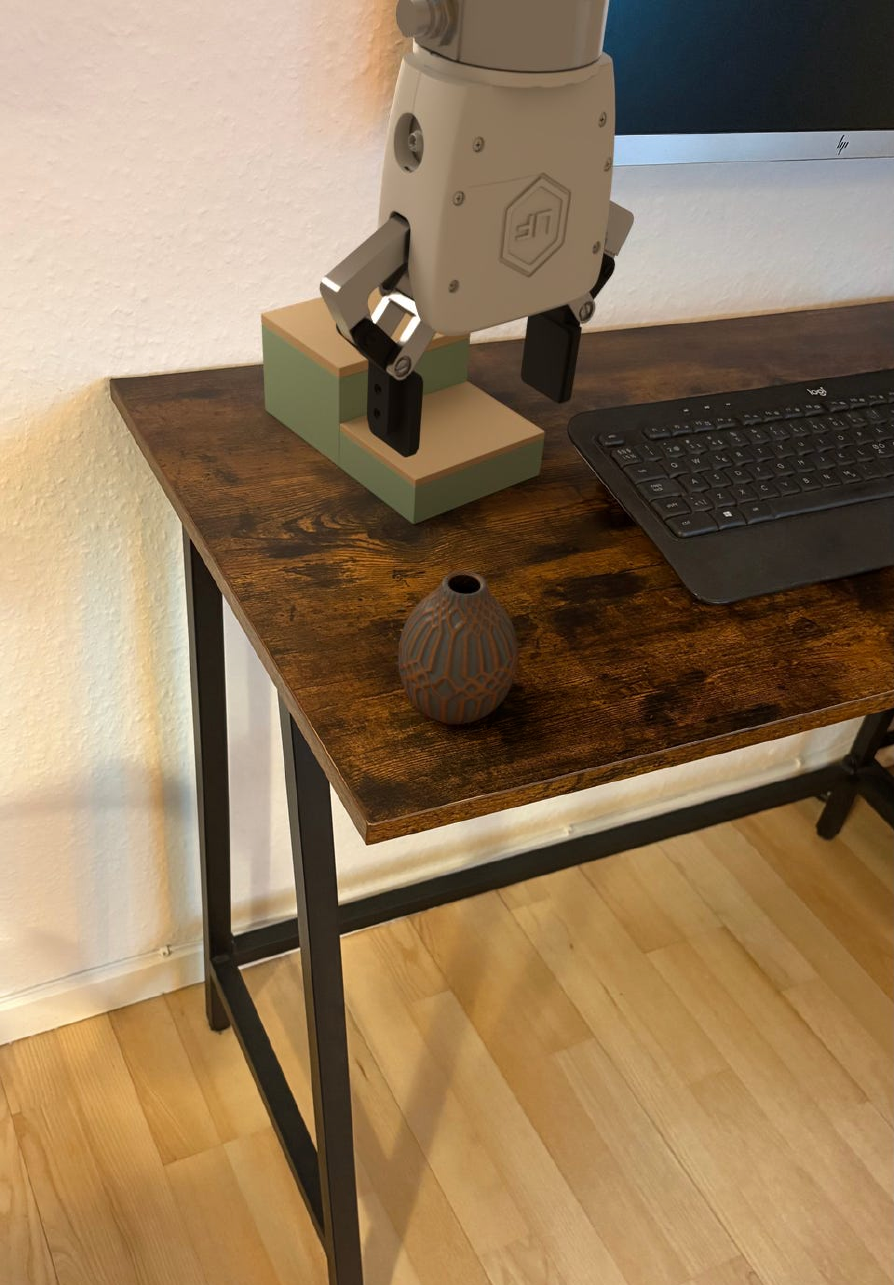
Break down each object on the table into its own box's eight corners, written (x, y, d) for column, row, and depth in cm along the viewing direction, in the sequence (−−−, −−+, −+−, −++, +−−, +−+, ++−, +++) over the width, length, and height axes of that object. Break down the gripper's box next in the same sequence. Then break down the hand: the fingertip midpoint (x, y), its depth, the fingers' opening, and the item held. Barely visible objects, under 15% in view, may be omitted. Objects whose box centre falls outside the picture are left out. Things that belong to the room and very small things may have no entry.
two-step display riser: (539, 475, 92) (552, 377, 87) (413, 524, 87) (418, 424, 81) (387, 371, 102) (390, 278, 96) (264, 410, 96) (260, 313, 91)
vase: (456, 650, 77) (467, 532, 71) (534, 708, 74) (553, 589, 67) (372, 696, 74) (375, 575, 67) (450, 759, 70) (461, 638, 64)
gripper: (391, 73, 42) (375, 504, 54) (728, 20, 50) (648, 404, 63) (271, 15, 46) (281, 430, 58) (602, -26, 54) (550, 345, 67)
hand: (471, 416), depth 60 cm, fingers open, 9 cm apart
